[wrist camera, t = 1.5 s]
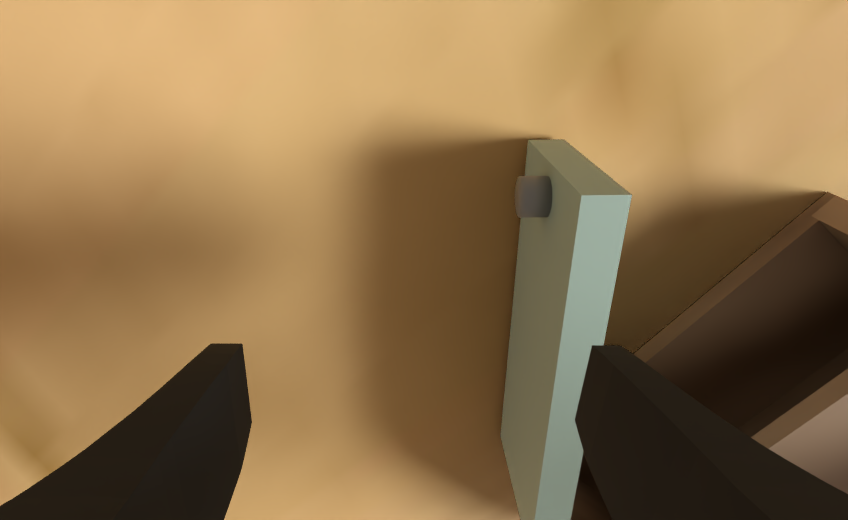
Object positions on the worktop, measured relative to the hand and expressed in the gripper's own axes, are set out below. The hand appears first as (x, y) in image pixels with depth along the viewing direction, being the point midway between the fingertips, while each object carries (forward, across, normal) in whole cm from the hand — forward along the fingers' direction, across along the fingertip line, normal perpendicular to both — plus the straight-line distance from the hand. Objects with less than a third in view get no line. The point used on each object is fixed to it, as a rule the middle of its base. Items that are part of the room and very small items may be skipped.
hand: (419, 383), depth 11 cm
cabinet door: (+8, -4, +4) cm, 10 cm away
